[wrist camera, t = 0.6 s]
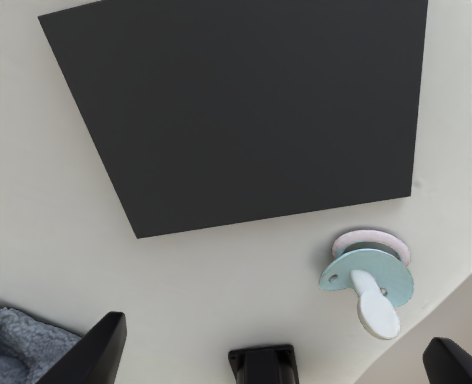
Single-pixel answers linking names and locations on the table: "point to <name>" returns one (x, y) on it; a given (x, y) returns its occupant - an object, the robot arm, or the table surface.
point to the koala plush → (29, 347)
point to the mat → (245, 103)
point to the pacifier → (372, 279)
